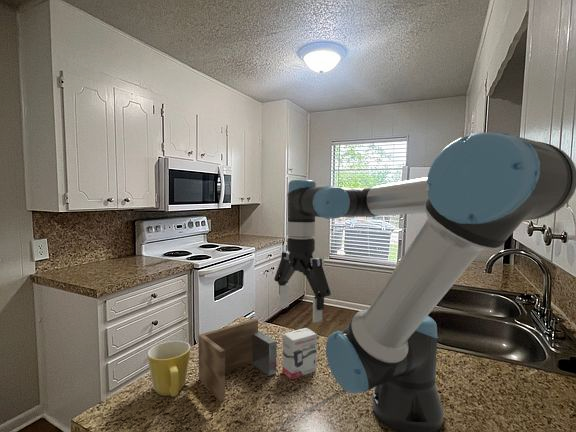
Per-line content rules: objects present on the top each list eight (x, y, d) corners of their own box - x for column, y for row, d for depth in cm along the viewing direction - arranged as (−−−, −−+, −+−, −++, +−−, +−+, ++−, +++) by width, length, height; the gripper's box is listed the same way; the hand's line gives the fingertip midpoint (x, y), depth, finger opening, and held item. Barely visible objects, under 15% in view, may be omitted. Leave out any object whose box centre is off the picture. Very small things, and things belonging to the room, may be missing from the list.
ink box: (291, 383, 84) (292, 340, 83) (281, 375, 88) (282, 333, 87) (317, 374, 88) (317, 333, 88) (306, 366, 93) (306, 326, 92)
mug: (150, 381, 84) (150, 342, 84) (190, 375, 87) (190, 338, 87) (142, 414, 71) (142, 369, 71) (190, 406, 74) (190, 363, 74)
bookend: (276, 373, 87) (276, 341, 86) (268, 376, 85) (269, 343, 85) (259, 361, 93) (259, 331, 92) (252, 364, 91) (252, 333, 91)
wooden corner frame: (280, 379, 86) (281, 332, 85) (220, 406, 74) (220, 352, 74) (255, 361, 95) (255, 319, 94) (198, 383, 84) (198, 334, 83)
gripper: (345, 241, 79) (343, 324, 80) (283, 232, 98) (282, 299, 99) (324, 243, 74) (323, 332, 76) (263, 233, 94) (262, 304, 95)
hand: (299, 313), depth 88 cm, fingers open, 13 cm apart
